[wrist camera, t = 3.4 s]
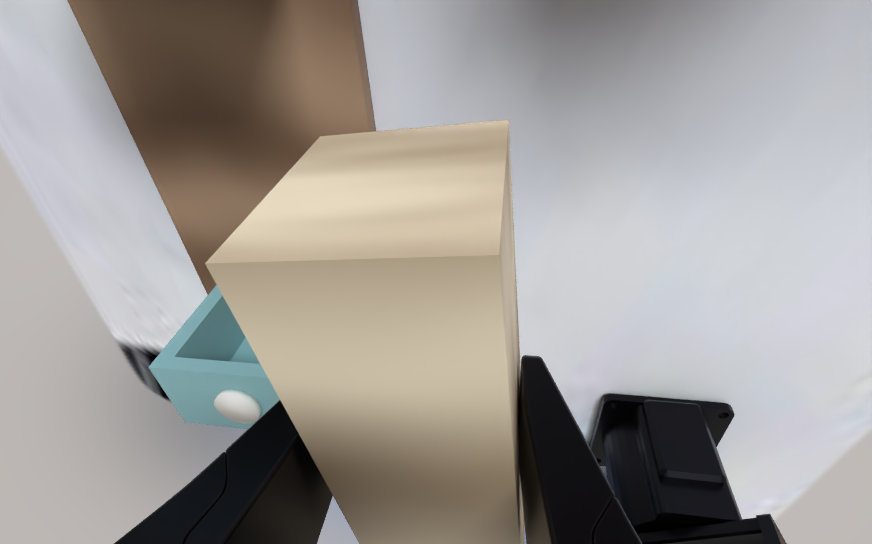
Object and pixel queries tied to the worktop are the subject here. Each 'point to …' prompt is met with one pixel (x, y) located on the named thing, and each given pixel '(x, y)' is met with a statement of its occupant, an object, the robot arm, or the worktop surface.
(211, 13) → the board
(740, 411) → the worktop surface
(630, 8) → the worktop surface
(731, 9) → the worktop surface
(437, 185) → the wooden block
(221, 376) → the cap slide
